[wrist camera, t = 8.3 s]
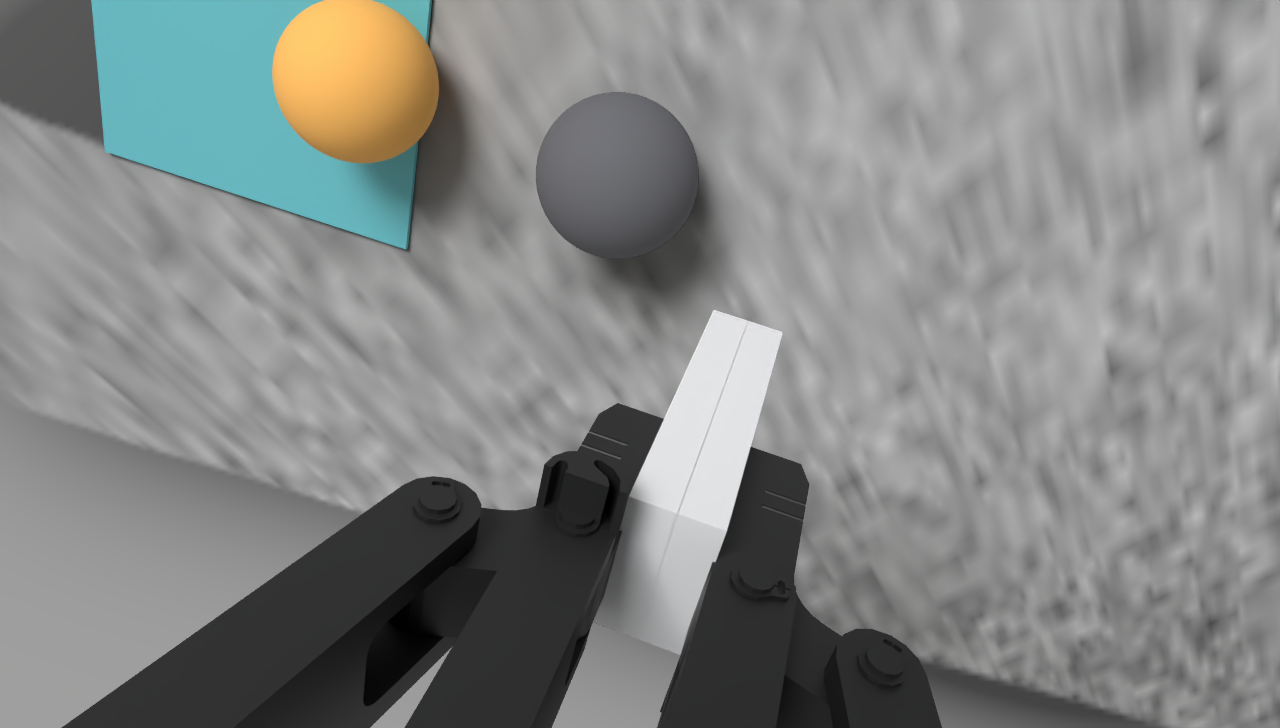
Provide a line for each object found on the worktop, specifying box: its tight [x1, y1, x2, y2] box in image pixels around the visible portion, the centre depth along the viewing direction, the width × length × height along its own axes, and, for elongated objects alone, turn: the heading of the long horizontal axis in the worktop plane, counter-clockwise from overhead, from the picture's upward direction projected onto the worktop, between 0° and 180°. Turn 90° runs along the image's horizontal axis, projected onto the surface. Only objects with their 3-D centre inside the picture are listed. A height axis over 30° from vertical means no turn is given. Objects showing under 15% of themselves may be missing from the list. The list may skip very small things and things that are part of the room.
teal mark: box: [92, 0, 432, 249], centre depth 34 cm, size 14×14×1 cm
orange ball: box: [272, 0, 439, 163], centre depth 31 cm, size 6×6×6 cm
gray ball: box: [536, 92, 699, 258], centre depth 30 cm, size 6×6×6 cm
